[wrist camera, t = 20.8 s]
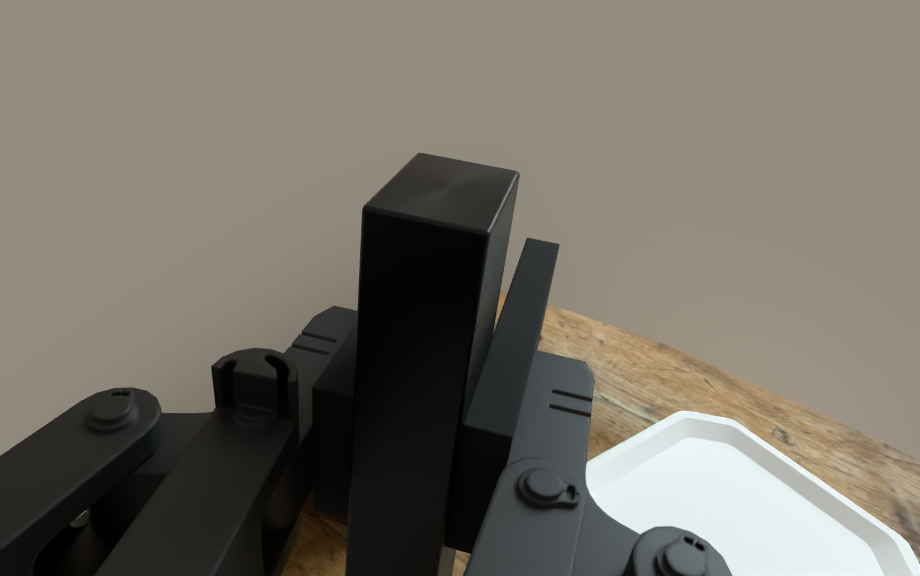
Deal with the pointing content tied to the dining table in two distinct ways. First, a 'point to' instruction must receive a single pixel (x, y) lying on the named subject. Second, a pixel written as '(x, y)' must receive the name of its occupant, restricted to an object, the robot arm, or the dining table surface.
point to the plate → (742, 502)
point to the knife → (421, 354)
